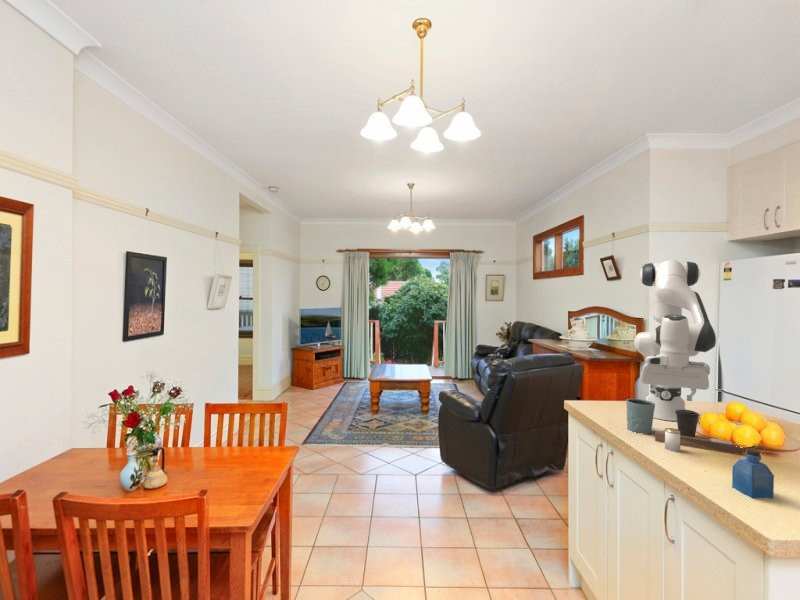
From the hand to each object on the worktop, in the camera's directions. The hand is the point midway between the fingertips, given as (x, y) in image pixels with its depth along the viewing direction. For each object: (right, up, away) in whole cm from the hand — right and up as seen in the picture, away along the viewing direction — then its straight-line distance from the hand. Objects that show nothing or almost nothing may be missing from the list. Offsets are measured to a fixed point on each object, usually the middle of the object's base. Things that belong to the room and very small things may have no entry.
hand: (673, 398), depth 147 cm
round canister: (0, -18, 0) cm, 18 cm away
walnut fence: (+11, -18, +3) cm, 21 cm away
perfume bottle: (0, -19, -32) cm, 37 cm away
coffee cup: (+16, -19, +15) cm, 29 cm away
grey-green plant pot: (0, -18, +21) cm, 28 cm away
